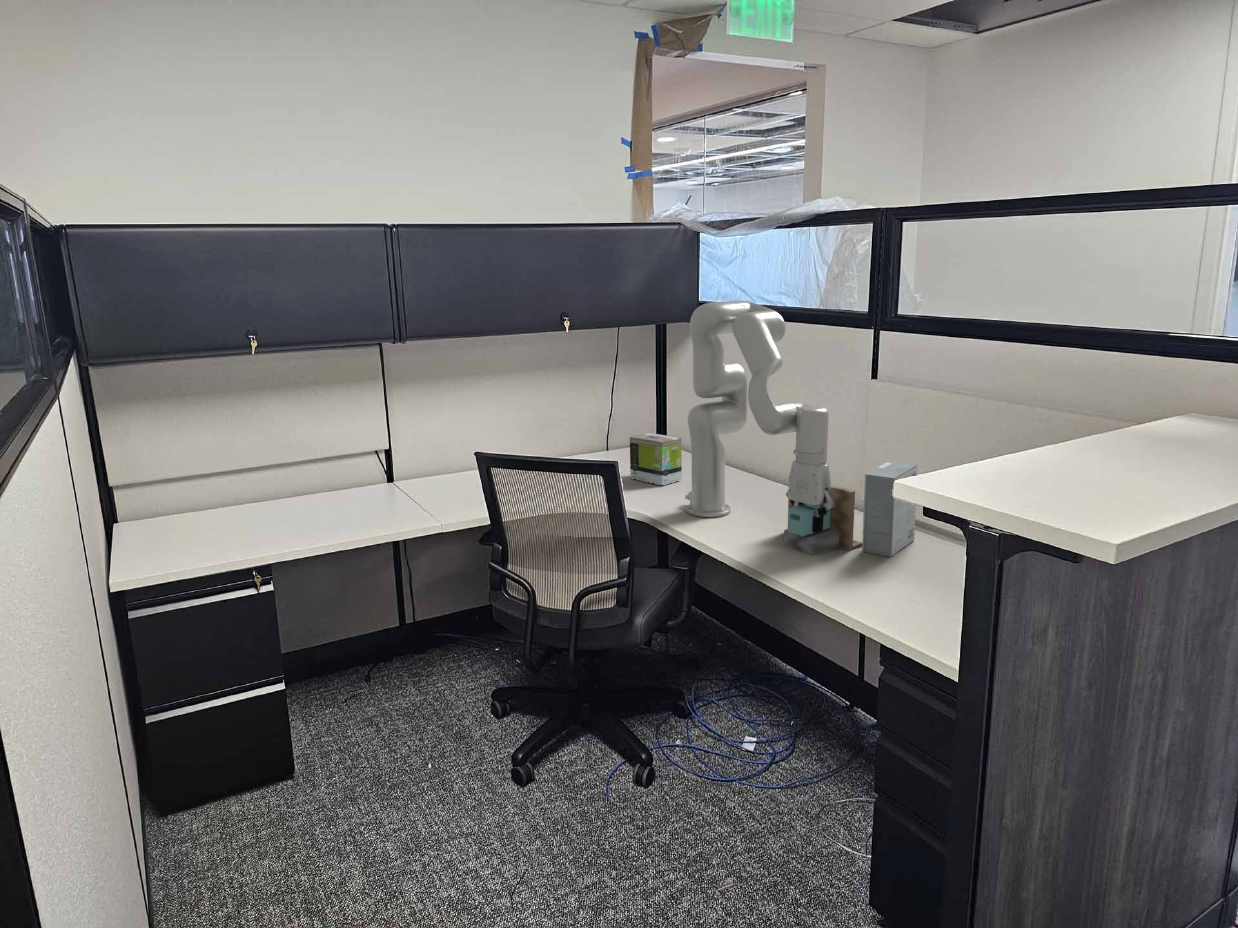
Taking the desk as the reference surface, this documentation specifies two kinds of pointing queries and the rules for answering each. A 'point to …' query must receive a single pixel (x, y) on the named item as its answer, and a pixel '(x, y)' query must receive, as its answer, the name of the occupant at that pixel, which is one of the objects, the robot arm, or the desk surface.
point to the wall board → (838, 531)
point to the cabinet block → (804, 519)
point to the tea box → (655, 458)
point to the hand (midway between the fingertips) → (808, 527)
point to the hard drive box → (887, 511)
